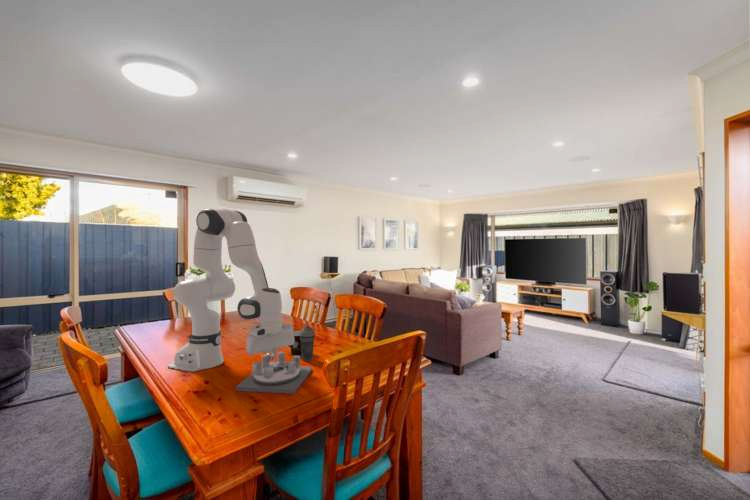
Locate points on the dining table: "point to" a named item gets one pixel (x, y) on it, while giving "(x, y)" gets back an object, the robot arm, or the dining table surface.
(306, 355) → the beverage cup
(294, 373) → the grey round pegged disc
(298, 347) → the coffee mug
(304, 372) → the base plate
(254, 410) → the dining table surface
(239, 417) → the dining table surface
